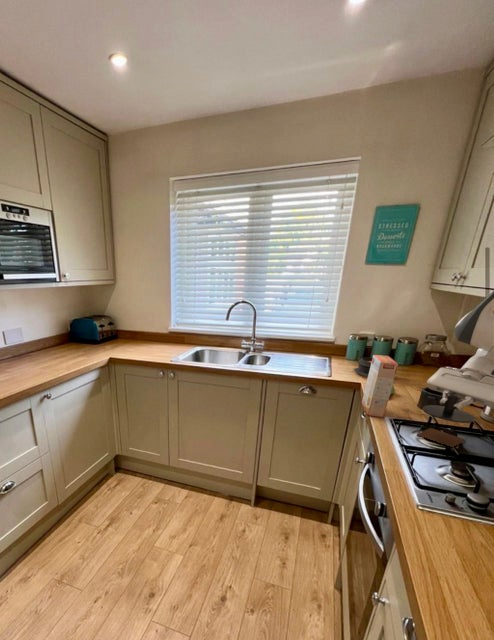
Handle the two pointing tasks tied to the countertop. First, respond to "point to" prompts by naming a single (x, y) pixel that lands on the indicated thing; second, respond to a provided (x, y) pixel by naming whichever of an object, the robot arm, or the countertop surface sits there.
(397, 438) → the countertop surface
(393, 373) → the cracker box
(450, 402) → the lid
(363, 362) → the dark grey rounded piece
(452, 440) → the plate
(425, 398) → the pot
